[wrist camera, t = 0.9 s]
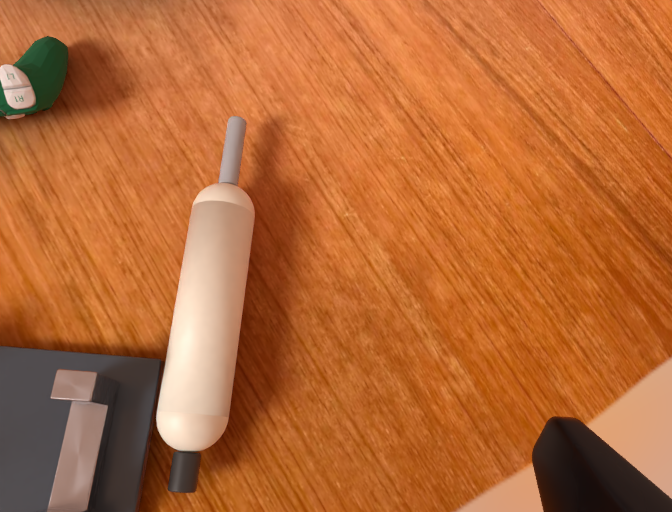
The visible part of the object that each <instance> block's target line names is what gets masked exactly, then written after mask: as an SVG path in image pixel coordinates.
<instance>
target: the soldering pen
mask: <svg viewBox="0 0 672 512" xmlns="http://www.w3.org/2000/svg"><path fill="white" fill-rule="evenodd" d="M245 130H246V121H245V120H244V119H243V118H241V117H238V116H233V117H230V118H229V119H228V125H227V131H226V137H225V144H224V150H223V157H222V163H221V169H220V176H219V182H218V183H216V184H213V185H210V186H208V187H206V188H205V189H203V190H202V191H201V192H200V193H199V194H198V195H197V197H196V199H195V200H194V203H193V206H192V211H191V217H190V222H189V228H188V234H187V240H186V245H185V251H184V257H183V263H182V269H181V274H180V280H179V286H178V292H177V298H176V303H175V309H174V315H173V321H172V327H171V332H170V338H169V344H168V350H167V356H166V361H165V367H164V373H163V379H162V385H161V390H160V396H159V402H158V408H157V415H156V422H157V428H158V431H159V433H160V435H161V437H162V438H163V440H164V441H165V442H166V443H167V444H168V445H169V446H171V447H172V448H174V449H176V450H179V451H182V452H174V453H173V459H172V466H171V472H170V478H169V484H168V491H171V492H180V493H193V492H195V491H196V488H197V481H198V474H199V467H200V460H201V454H200V453H193V452H198V451H202V450H204V449H206V448H209V447H210V446H211V445H213V444H214V443H215V442H216V441H217V440H218V439H219V438H220V437H221V436H222V434H223V433H224V431H225V429H226V426H227V423H228V419H229V412H230V405H231V397H232V389H233V381H234V374H235V366H236V358H237V350H238V343H239V335H240V327H241V319H242V312H243V304H244V296H245V288H246V281H247V273H248V265H249V257H250V250H251V242H252V234H253V226H254V219H255V211H254V206H253V203H252V201H251V199H250V197H249V196H248V195H247V193H246V192H245V191H243V190H242V189H241V188H239V187H238V179H239V172H240V165H241V158H242V151H243V144H244V137H245Z"/></svg>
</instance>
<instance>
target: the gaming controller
mask: <svg viewBox="0 0 672 512" xmlns="http://www.w3.org/2000/svg"><path fill="white" fill-rule="evenodd" d="M67 65H68V48H67V46H66V45H65V44H64V43H62V42H61V41H59V40H58V39H56V38H53V37H49V36H47V37H44V38H41V39H39V40H37V41H35V42H34V43H33V44H32V46H31V47H30V48H29V49H28V50H27V51H26V52H25V54H24V55H23V56H22V57H21V58H20V59H19V60H18V61H17V62H16V63H15V64H14V65H10V64H4V65H2V66H1V67H0V117H2V116H5V117H6V118H7V119H15V118H21V117H24V116H25V115H27V114H34V113H37V111H40V110H42V111H45V110H48V109H49V108H51V107H52V104H53V103H54V101H55V100H56V99H57V97H58V96H59V94H60V92H61V90H62V87H63V84H64V80H65V77H66V74H67Z"/></svg>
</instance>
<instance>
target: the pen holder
mask: <svg viewBox="0 0 672 512" xmlns="http://www.w3.org/2000/svg"><path fill="white" fill-rule="evenodd" d="M163 367H164V361H163V360H161V359H155V358H143V357H131V356H119V355H106V354H94V353H82V352H70V351H58V350H46V349H34V348H22V347H10V346H0V512H139V506H140V500H141V494H142V489H143V483H144V477H145V471H146V466H147V460H148V454H149V448H150V442H151V437H152V431H153V425H154V419H155V413H156V408H157V402H158V396H159V390H160V385H161V379H162V373H163Z"/></svg>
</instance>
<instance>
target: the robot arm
mask: <svg viewBox="0 0 672 512" xmlns="http://www.w3.org/2000/svg"><path fill="white" fill-rule="evenodd" d="M532 462H533V467H534V471H535V476H536V480H537V485H538V488H539V493H540V497H541V502H542V506H543V510H544V512H672V499H671V498H670V497H669V496H668V495H666V494H665V493H664V492H663V491H662V490H660V489H659V488H658V487H657V486H656V485H655V484H654V483H652V482H651V481H650V480H648V478H647V477H645V476H644V475H643V474H642V473H641V472H640V471H638V470H637V469H636V468H635V467H634V466H632V465H631V464H630V463H629V462H628V461H627V460H625V459H624V458H623V457H622V456H621V455H620V454H618V453H617V452H616V451H615V450H614V449H613V448H611V447H610V446H609V445H608V444H607V443H606V442H604V441H603V440H602V439H601V438H600V437H599V436H597V435H596V434H595V433H594V432H593V431H592V430H590V429H589V428H588V427H587V426H586V425H585V424H583V423H582V422H581V421H580V420H578V419H576V418H572V417H556V416H555V417H552V418H550V419H549V420H548V421H547V423H546V425H545V427H544V429H543V431H542V432H541V434H540V436H539V438H538V440H537V442H536V444H535V446H534V448H533V452H532Z"/></svg>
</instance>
